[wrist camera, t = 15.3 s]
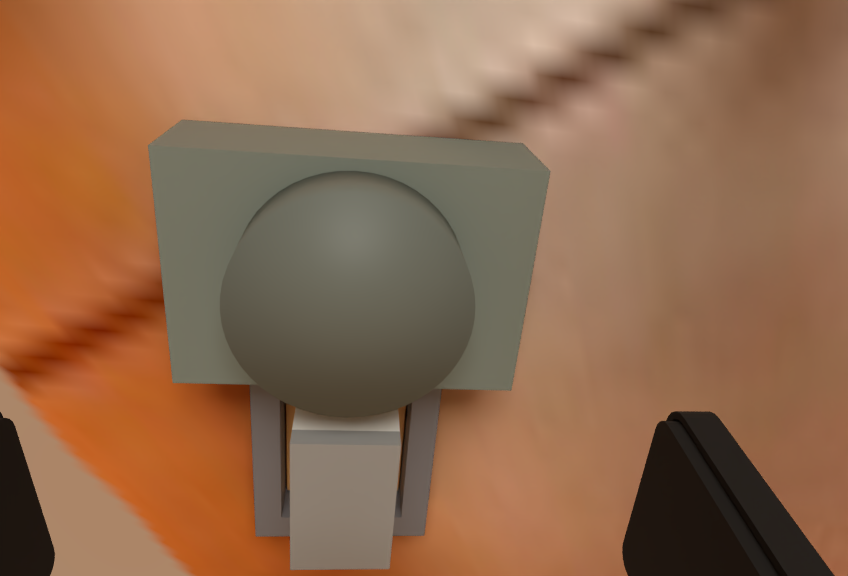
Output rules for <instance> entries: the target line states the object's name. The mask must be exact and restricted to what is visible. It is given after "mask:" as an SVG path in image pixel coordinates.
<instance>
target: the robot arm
mask: <svg viewBox="0 0 848 576" xmlns="http://www.w3.org/2000/svg"><path fill="white" fill-rule="evenodd" d="M622 553H623V561H624V566H625V569H626V572H627V574H628V576H834V575H833V573H832V572H831V570H830V569H829V568H828V566H827V565H826V564H825V562H824V561H823V560H822V558H821V557H820V555H819V554H818V553H817V551H816V550H815V549H814V547H813V546H812V545H811V543H810V542H809V540H808V539H807V538H806V536H805V535H804V534H803V532H802V531H801V530H800V528H799V527H798V525H797V524H796V523H795V521H794V520H793V519H792V517H791V516H790V514H789V513H788V512H787V510H786V509H785V508H784V506H783V505H782V504H781V502H780V501H779V499H778V498H777V497H776V495H775V494H774V493H773V491H772V490H771V489H770V487H769V486H768V484H767V483H766V482H765V480H764V479H763V478H762V476H761V475H760V474H759V472H758V471H757V469H756V468H755V467H754V465H753V464H752V463H751V461H750V460H749V459H748V457H747V456H746V454H745V453H744V452H743V450H742V449H741V448H740V446H739V445H738V443H737V442H736V441H735V439H734V438H733V437H732V435H731V434H730V433H729V431H728V430H727V428H726V427H725V426H724V424H723V423H722V422H721V420H720V419H719V418H718V417H717V416H716V415H715V414H714V413H712V412H672V413H671V414H670V415H669V416H668V418H667V420H666V421H661V422H659V423H658V424H657V427H656V429H655V433H654V436H653V440H652V443H651V447H650V450H649V454H648V457H647V461H646V464H645V468H644V471H643V475H642V478H641V482H640V485H639V489H638V493H637V496H636V500H635V503H634V507H633V510H632V514H631V517H630V521H629V524H628V528H627V531H626V535H625V538H624V542H623V551H622ZM54 556H55V552H54V547H53V544H52V541H51V538H50V534H49V531H48V528H47V525H46V522H45V519H44V516H43V513H42V509H41V506H40V503H39V500H38V497H37V494H36V491H35V487H34V484H33V481H32V478H31V475H30V472H29V469H28V466H27V462H26V460H25V456H24V453H23V450H22V447H21V444H20V441H19V437H18V435H17V431H16V428H15V426H14V423H13V422H12V421H11V420H10V419H7V418H3V416H2V414H1V412H0V576H50V574H51V572H52V569H53V565H54V558H55V557H54Z"/></svg>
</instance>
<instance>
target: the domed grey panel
mask: <svg viewBox="0 0 848 576" xmlns="http://www.w3.org/2000/svg"><path fill="white" fill-rule="evenodd" d="M148 149H149V158H150V168H151V178H152V187H153V197H154V207H155V216H156V226H157V235H158V245H159V255H160V264H161V274H162V284H163V293H164V303H165V312H166V322H167V332H168V341H169V351H170V361H171V370H172V380H173V383H203V384H247V385H250V406H251V431H252V456H253V481H254V505H255V530H256V536H290V439H291V433H292V427H293V421H294V415H295V408H298V409H301V410H304V411H308V412H311V413H314V414H319V415H325V416H331V417H345V418H348V417H365V416H372V415H378V414H382V413H386V412H390V411H393V410H396V409H398V413H399V426H400V438H401V452H400V462H399V473H398V484H397V494H396V505H395V516H394V526H393V536H424V533H425V525H426V516H427V508H428V500H429V491H430V483H431V475H432V466H433V458H434V449H435V441H436V433H437V424H438V416H439V408H440V399H441V391H442V389H466V390H510V391H511V390H512V384H513V378H514V373H515V367H516V362H517V356H518V350H519V345H520V339H521V333H522V328H523V322H524V317H525V311H526V305H527V300H528V294H529V288H530V283H531V277H532V272H533V266H534V260H535V255H536V249H537V244H538V238H539V232H540V227H541V221H542V215H543V210H544V204H545V199H546V193H547V187H548V182H549V176H550V170H549V169H548V168H547V167H546V166H545V165H544V164H543V163H542V162H541V161H540V160H539V159H538V158H537V157H536V156H535V155H534V154H533V153H532V152H531V151H530V150H529V149H528V148H527V147H526V146H525V145H524V144H523V143H509V142H494V141H480V140H465V139H451V138H437V137H422V136H408V135H393V134H379V133H365V132H350V131H336V130H322V129H307V128H293V127H278V126H264V125H250V124H235V123H221V122H206V121H192V120H181V121H180V122H179V123H177V124H176V125H175V126H173V127H172V128H170V129H169V130H168V131H166V132H165V133H164V134H162V135H161V136H160V137H158V138H157V139H156V140H154V141H153V142H152V143H150V144H149V145H148ZM285 403H286V419H285ZM406 405H407V408H406ZM405 409H406V419H405ZM404 420H405V430H404ZM286 425H287V487H286ZM403 431H404V441H403ZM402 442H403V452H402ZM401 453H402V463H401ZM400 464H401V473H400ZM399 475H400V484H399ZM398 486H399V487H398Z"/></svg>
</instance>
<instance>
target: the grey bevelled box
mask: <svg viewBox="0 0 848 576" xmlns="http://www.w3.org/2000/svg"><path fill="white" fill-rule="evenodd" d="M400 452H401V438H400V426H399V413H398V409H396V410H393V411H390V412H386V413H382V414H378V415H372V416H365V417H348V418H345V417H331V416H325V415H319V414H314V413H311V412H308V411H304V410H301V409H298V408H295V415H294V421H293V427H292V433H291V439H290V570H331V569H390V558H391V548H392V537H393V526H394V516H395V505H396V494H397V484H398V473H399V462H400Z"/></svg>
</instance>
